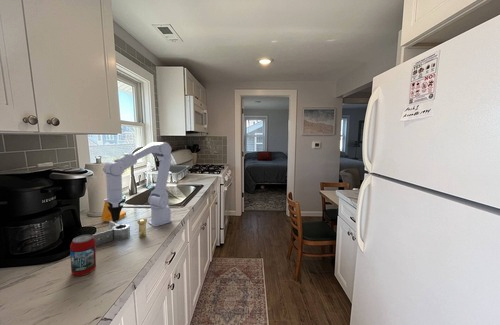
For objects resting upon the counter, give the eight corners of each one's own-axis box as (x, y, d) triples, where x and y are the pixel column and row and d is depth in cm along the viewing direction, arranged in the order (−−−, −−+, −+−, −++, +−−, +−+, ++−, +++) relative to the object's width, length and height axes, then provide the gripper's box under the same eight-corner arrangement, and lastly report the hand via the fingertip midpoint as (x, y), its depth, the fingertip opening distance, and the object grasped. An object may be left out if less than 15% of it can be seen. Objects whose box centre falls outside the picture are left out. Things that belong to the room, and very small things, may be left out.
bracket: (115, 223, 114) (114, 201, 113) (101, 222, 114) (100, 200, 113) (126, 215, 125) (126, 195, 124) (114, 215, 125) (114, 195, 124)
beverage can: (68, 279, 69) (66, 244, 68) (74, 268, 75) (72, 235, 74) (94, 274, 72) (93, 240, 71) (97, 263, 78) (96, 232, 77)
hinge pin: (144, 233, 103) (144, 217, 102) (148, 236, 101) (148, 220, 100) (136, 236, 100) (135, 220, 99) (140, 239, 98) (139, 222, 97)
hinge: (117, 228, 108) (117, 218, 107) (132, 236, 100) (132, 226, 99) (83, 238, 96) (82, 228, 95) (96, 249, 88) (96, 237, 87)
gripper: (103, 186, 98) (104, 214, 100) (103, 193, 86) (104, 225, 88) (121, 184, 102) (122, 212, 104) (123, 191, 90) (124, 222, 92)
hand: (115, 218), depth 96 cm, fingers open, 7 cm apart
